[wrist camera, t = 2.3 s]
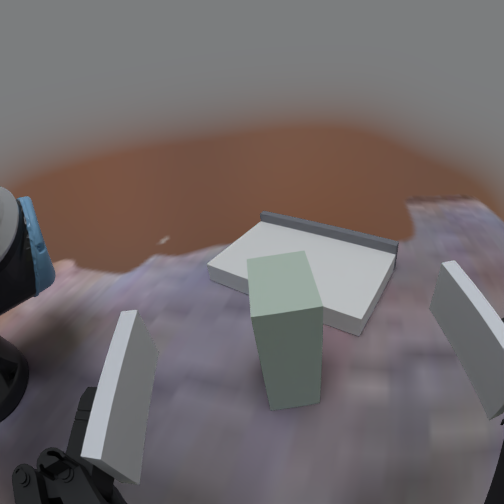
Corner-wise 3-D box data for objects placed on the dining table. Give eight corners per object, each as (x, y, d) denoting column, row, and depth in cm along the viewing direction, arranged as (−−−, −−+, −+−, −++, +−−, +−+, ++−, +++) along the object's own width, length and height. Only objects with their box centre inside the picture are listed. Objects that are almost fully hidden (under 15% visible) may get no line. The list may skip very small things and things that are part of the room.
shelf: (210, 279, 49) (204, 255, 46) (267, 231, 58) (264, 210, 56) (359, 336, 35) (362, 309, 33) (395, 265, 45) (399, 240, 42)
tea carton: (270, 410, 29) (250, 317, 21) (265, 358, 35) (246, 259, 27) (320, 403, 29) (323, 305, 21) (308, 351, 35) (305, 250, 27)
